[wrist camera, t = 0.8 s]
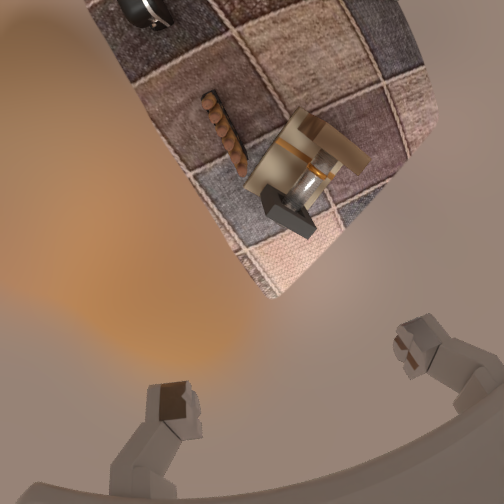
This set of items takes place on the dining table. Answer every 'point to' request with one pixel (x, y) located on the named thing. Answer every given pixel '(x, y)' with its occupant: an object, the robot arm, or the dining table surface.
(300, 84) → the dining table surface
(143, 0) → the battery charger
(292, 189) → the steel pipe
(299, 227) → the collar
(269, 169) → the pipe stand
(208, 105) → the ammunition clip
